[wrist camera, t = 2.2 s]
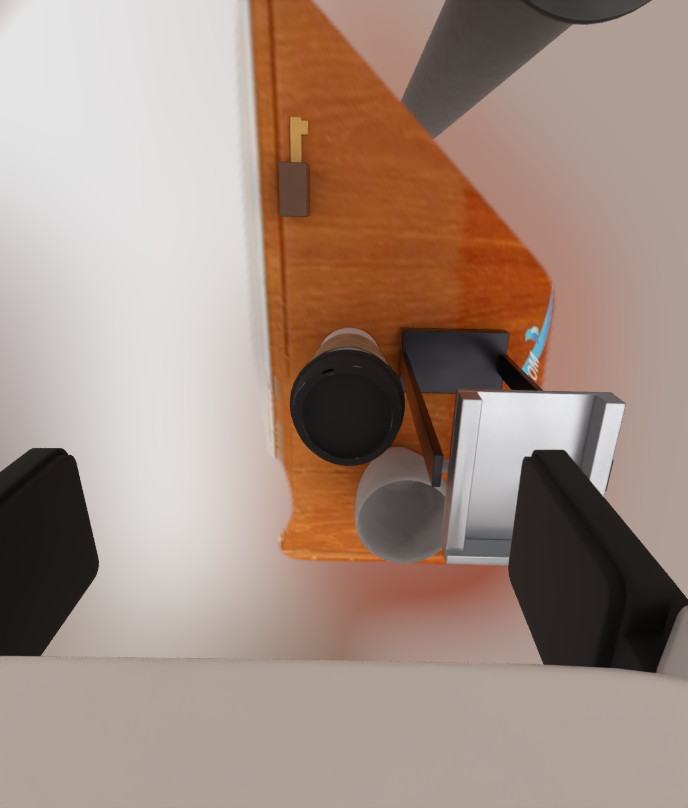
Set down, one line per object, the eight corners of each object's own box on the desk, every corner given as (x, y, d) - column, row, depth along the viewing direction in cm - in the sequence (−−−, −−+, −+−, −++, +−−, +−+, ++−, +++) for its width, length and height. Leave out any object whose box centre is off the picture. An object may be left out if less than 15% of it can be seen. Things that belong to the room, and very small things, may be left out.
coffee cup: (376, 300, 47) (385, 341, 33) (404, 382, 50) (424, 452, 36) (291, 331, 48) (265, 383, 34) (324, 410, 51) (312, 487, 37)
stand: (401, 327, 48) (437, 421, 27) (505, 329, 48) (622, 426, 27) (397, 388, 50) (428, 517, 29) (497, 390, 50) (599, 522, 29)
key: (309, 216, 44) (306, 216, 41) (284, 215, 44) (279, 216, 41) (309, 117, 42) (306, 111, 39) (282, 117, 42) (277, 110, 39)
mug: (371, 515, 55) (374, 576, 46) (342, 446, 52) (339, 496, 43) (479, 482, 54) (504, 537, 45) (455, 408, 51) (477, 452, 42)
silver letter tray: (456, 388, 27) (464, 402, 25) (611, 392, 26) (630, 406, 25) (440, 542, 30) (445, 564, 28) (577, 546, 30) (591, 568, 28)
